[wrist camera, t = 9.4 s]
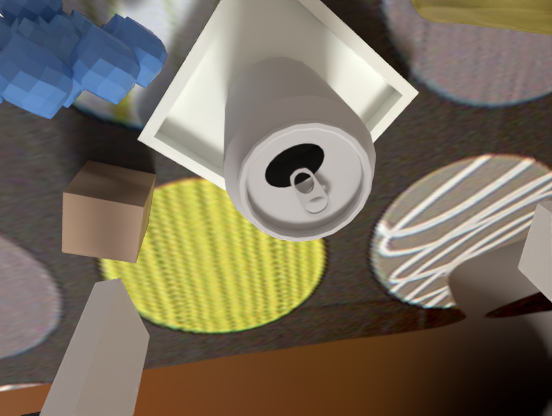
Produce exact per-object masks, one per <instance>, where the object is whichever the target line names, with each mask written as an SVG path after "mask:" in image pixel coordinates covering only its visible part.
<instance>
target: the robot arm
mask: <svg viewBox="0 0 552 416" xmlns="http://www.w3.org/2000/svg"><path fill="white" fill-rule="evenodd" d="M518 269H519V270H520V271H521V272H522V273H523V274H524V275H525V276H526V277H527V278H528V279H529V280H530V281H531V282H532V283H533V284H534V285H535V286H536V287H537V288H538V289H539V290H540V291H541V292H542V293H543V294H544V295H545V296H546V297H547V298H548V299H549V300H550V301H551V302H552V201H547V202H541V203H538V204H537V207H536V210H535V214H534V217H533V220H532V223H531V227H530V230H529V233H528V236H527V240H526V243H525V246H524V249H523V253H522V256H521V259H520V262H519V266H518ZM148 341H149V334H148V332H147V330H146V328H145V326H144V324H143V322H142V320H141V318H140V316H139V314H138V312H137V310H136V308H135V306H134V304H133V302H132V300H131V298H130V296H129V294H128V292H127V290H126V288H125V286H124V284H123V282H122V280H121V278H119V279H113V280H108V281H102V282H97V283H95V285H94V287H93V290H92V292H91V294H90V297H89V299H88V301H87V304H86V306H85V309H84V311H83V313H82V316H81V318H80V320H79V323H78V325H77V327H76V330H75V332H74V335H73V337H72V339H71V342H70V344H69V346H68V349H67V351H66V354H65V356H64V358H63V361H62V363H61V365H60V368H59V370H58V373H57V375H56V377H55V380H54V382H53V384H52V387H51V389H50V391H49V394H48V396H47V399H46V401H45V404H44V406H43V408H42V410H41V412H36V413H30V414H25V415H21V416H133V413H134V409H135V403H136V399H137V394H138V389H139V384H140V379H141V375H142V370H143V365H144V360H145V356H146V351H147V346H148Z"/></svg>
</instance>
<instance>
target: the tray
mask: <svg viewBox="0 0 552 416" xmlns="http://www.w3.org/2000/svg"><path fill="white" fill-rule="evenodd" d="M277 57H287V58H291V59H294V60H298V61H301V62H303V63H305V64H306V65H307V66H309V67H310V68H312V69H313V70H315V71H316V72H317V73H318V74H319V75H320V76H321V77H322V78H323V79H324V80H325V81H326V82H327V83H328V85H329V86H330V87H331V88H332V89H333V90H334V91H335V92H336V93H337V94H338V95H339V96H340V97H341V98H342V99H343V100H344V101H345V102H346V103H347V104H348V105H349V106H350V107H351V108H352V110H353V111H354V112H355V113H356V114H357V115H358V116H359V117H360V119H361V120H362V122H363V123H364V125H365V126H366V128H367V129H368V131H369V132H370V134H371V137H372V141H373V143H374V142H375V140H376V139H377V138H378V137H379V136H380V135H381V134H382V133H383V132H384V130H385V129H386V128H387V127H388V126H389V125H390V124H391V123H392V122H393V121H394V119H395V118H396V117H397V116H398V115H399V114H400V113H401V112H402V111H403V110H404V108H405V107H406V106H407V105H408V104H409V103H410V102H411V101H412V100H413V98H414V97H415V96H416V95H417V94H418V93H419V92H418V91H416V90H415V89H414V88H413V87H412V86H411V85H410V84H409V83H408V82H407V81H406V80H405V79H404V78H403V77H402V76H400V75H399V74H398V73H397V72H396V71H395V70H394V69H393V68H392V67H391V66H390V65H389V64H388V63H387V62H385V61H384V60H383V59H382V58H381V57H380V56H379V55H378V54H377V53H376V52H375V51H374V50H373V49H372V48H371V47H369V46H368V45H367V44H366V43H365V42H364V41H363V40H362V39H361V38H360V37H359V36H358V35H357V34H356V33H354V32H353V31H352V30H351V29H350V28H349V27H348V26H347V25H346V24H345V23H344V22H343V21H342V20H341V19H340V18H338V17H337V16H336V15H335V14H334V13H333V12H332V11H331V10H330V9H329V8H328V7H327V6H326V5H325V4H324V3H322V2H321V1H320V0H220V2H219V4H218V5H217V7H216V9H215V10H214V12H213V14H212V15H211V17H210V19H209V20H208V22H207V24H206V25H205V27H204V29H203V30H202V32H201V34H200V35H199V37H198V39H197V40H196V42H195V44H194V45H193V47H192V49H191V50H190V52H189V54H188V55H187V57H186V59H185V60H184V62H183V64H182V65H181V67H180V69H179V70H178V72H177V74H176V75H175V77H174V79H173V80H172V82H171V84H170V85H169V87H168V89H167V91H166V92H165V94H164V96H163V97H162V99H161V101H160V102H159V104H158V106H157V107H156V109H155V111H154V112H153V114H152V116H151V117H150V119H149V121H148V122H147V124H146V126H145V127H144V129H143V131H142V132H141V134H140V136H139V138H138V140H139V141H141V142H143V143H144V144H146V145H148V146H150V147H151V148H153V149H155V150H156V151H158V152H160V153H162V154H163V155H165V156H167V157H169V158H170V159H172V160H174V161H176V162H177V163H179V164H181V165H182V166H184V167H186V168H188V169H189V170H191V171H193V172H195V173H196V174H198V175H200V176H202V177H203V178H205V179H207V180H208V181H210V182H212V183H214V184H215V185H217V186H219V187H221V188H222V189H224V190H226V186H225V179H224V171H223V156H224V121H225V106H226V101H227V96H228V92H229V90H230V89H231V87H232V85H233V83H234V82H235V80H236V78H237V77H238V76H239V75H240V74H241V73H242V72H243V71H245V70H246V69H247V68H248V67H249V66H250V65H252V64H255V63H257V62H259V61H262V60H264V59H266V58H277Z"/></svg>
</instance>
